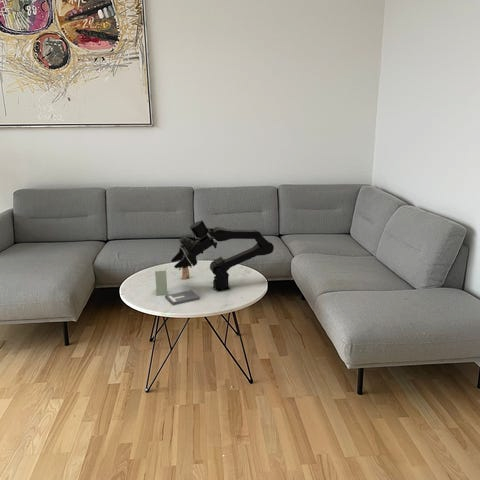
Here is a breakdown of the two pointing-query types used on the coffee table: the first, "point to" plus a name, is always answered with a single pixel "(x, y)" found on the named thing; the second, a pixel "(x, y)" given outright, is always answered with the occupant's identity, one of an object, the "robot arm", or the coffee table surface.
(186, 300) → the board
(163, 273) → the sage block
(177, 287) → the coffee table surface
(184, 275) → the grandmother figurine
